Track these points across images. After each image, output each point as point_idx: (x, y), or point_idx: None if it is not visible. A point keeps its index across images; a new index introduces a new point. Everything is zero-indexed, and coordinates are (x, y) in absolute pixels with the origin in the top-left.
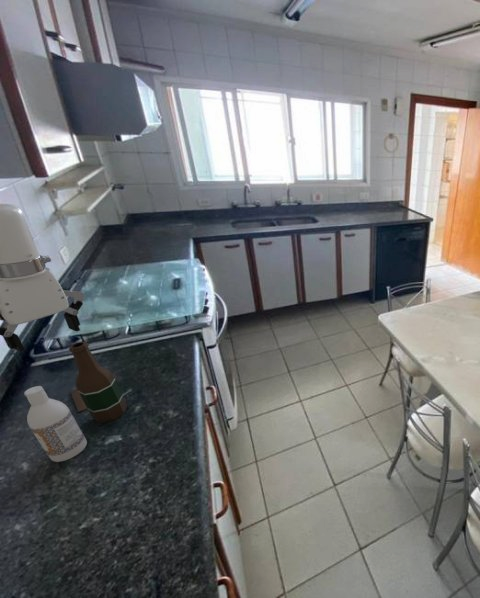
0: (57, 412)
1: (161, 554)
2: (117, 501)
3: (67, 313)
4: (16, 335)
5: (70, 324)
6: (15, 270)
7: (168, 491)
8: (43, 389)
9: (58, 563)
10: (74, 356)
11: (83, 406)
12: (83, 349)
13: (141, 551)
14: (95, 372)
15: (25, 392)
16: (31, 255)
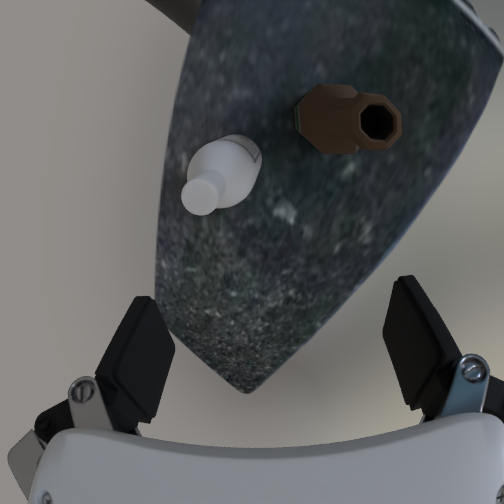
0: (231, 205)
1: (239, 369)
2: (238, 312)
3: (430, 400)
4: (150, 422)
5: (400, 336)
6: None
7: (275, 337)
8: (219, 200)
9: (184, 325)
10: (341, 119)
11: None
12: (375, 149)
13: (231, 360)
14: (347, 143)
15: (183, 194)
16: None
